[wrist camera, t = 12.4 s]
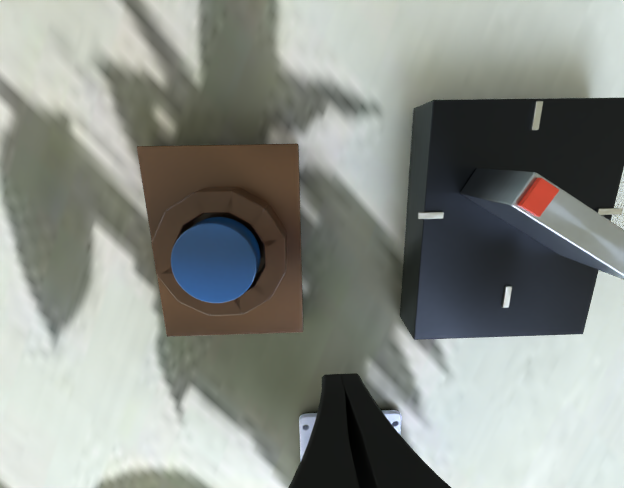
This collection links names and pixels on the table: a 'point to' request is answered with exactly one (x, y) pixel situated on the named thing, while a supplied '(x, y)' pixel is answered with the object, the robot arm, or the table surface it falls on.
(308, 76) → the table surface
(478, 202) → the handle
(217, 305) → the button block
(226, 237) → the button
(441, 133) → the tap deck
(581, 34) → the table surface
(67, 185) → the table surface
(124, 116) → the table surface
